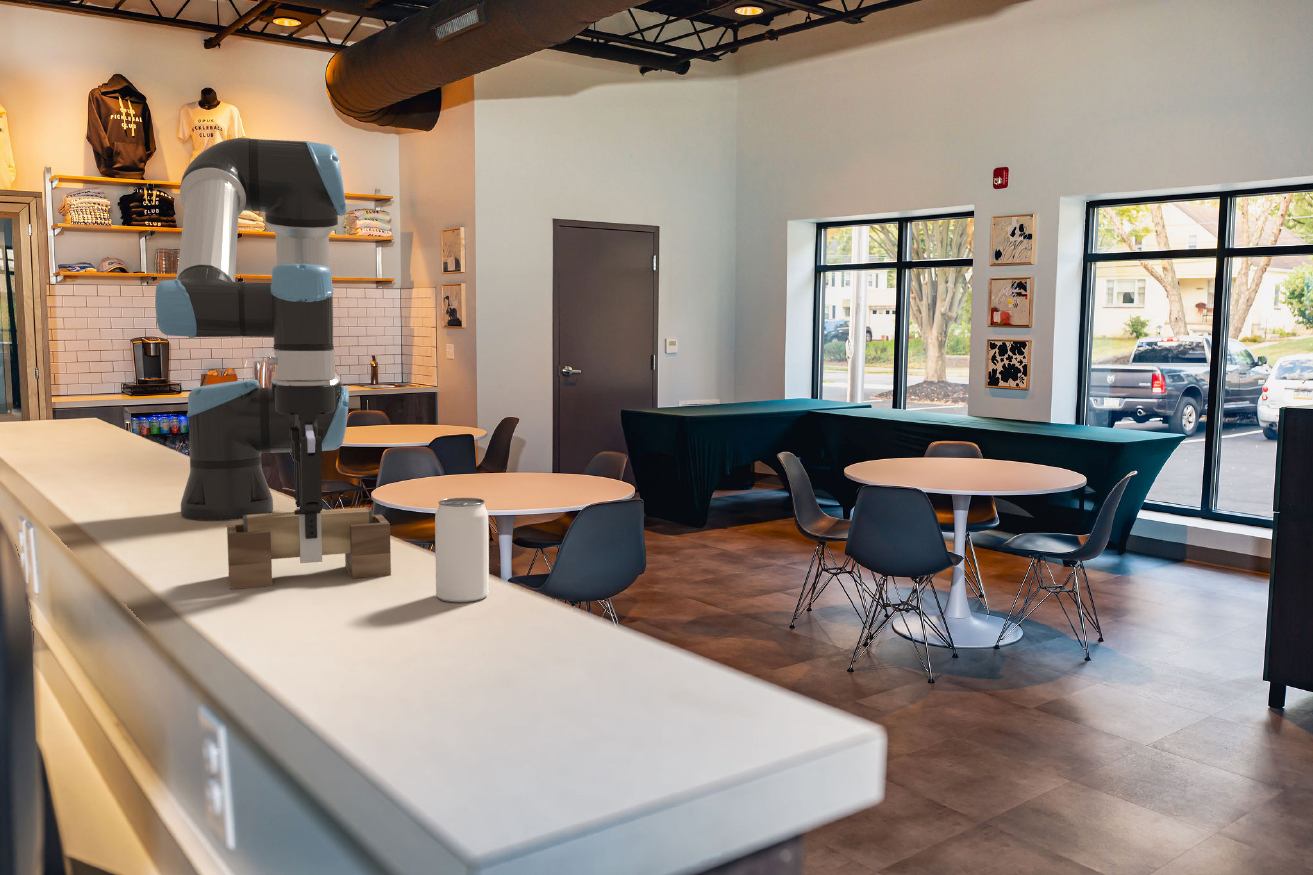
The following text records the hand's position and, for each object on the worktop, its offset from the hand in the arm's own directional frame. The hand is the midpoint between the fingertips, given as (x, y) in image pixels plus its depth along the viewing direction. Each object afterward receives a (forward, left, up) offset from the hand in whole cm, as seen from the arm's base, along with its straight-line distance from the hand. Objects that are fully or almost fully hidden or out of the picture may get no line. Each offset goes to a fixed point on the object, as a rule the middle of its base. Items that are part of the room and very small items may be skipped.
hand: (309, 558), depth 137 cm
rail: (0, 0, +1) cm, 1 cm away
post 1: (0, -7, -2) cm, 8 cm away
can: (+18, +16, -3) cm, 24 cm away
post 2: (0, +8, -2) cm, 8 cm away
